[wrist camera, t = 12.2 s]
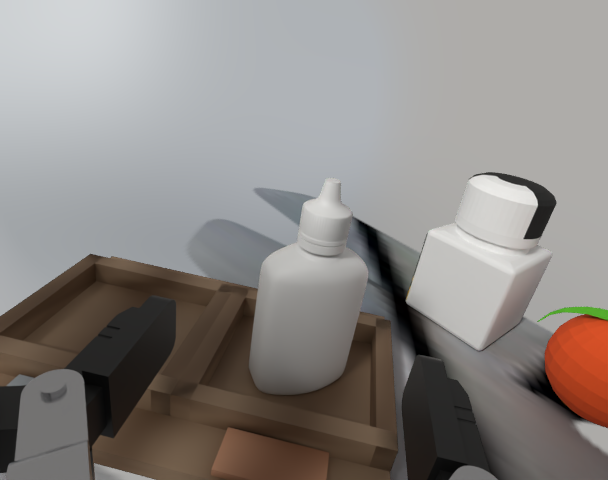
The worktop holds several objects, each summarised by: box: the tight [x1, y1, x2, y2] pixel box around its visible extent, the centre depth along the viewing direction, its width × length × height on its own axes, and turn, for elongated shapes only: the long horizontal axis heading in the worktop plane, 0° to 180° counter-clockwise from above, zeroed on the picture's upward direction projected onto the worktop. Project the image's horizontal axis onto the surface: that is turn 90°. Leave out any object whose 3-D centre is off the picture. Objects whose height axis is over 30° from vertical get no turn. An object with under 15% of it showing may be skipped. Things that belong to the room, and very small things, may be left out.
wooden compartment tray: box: [0, 254, 398, 480], centre depth 24 cm, size 22×15×2 cm
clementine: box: [538, 307, 608, 428], centre depth 25 cm, size 8×7×7 cm
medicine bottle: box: [406, 172, 556, 351], centre depth 31 cm, size 7×7×12 cm
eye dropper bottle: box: [249, 178, 368, 395], centre depth 21 cm, size 4×6×12 cm
